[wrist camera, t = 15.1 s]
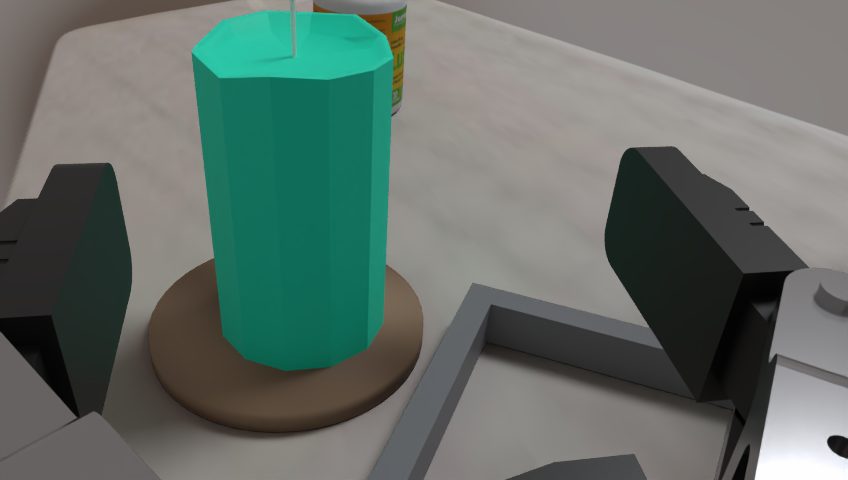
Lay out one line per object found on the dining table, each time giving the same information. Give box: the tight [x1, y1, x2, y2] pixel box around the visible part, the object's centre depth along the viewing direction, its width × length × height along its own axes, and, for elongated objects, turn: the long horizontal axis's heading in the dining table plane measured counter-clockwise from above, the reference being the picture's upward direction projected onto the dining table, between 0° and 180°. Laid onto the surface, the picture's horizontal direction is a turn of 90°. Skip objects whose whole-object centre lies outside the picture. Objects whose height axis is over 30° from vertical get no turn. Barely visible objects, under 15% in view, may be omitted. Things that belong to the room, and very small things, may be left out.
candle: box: [192, 0, 394, 371], centre depth 25 cm, size 6×6×12 cm
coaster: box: [148, 259, 423, 432], centre depth 29 cm, size 10×10×1 cm
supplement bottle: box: [313, 0, 407, 115], centre depth 45 cm, size 5×5×10 cm
